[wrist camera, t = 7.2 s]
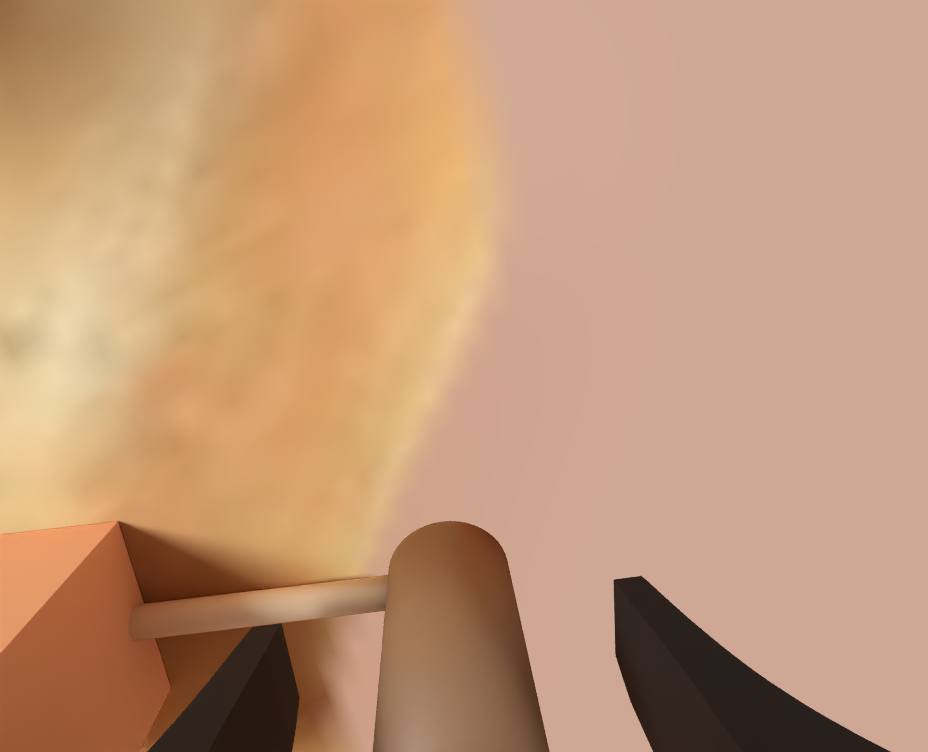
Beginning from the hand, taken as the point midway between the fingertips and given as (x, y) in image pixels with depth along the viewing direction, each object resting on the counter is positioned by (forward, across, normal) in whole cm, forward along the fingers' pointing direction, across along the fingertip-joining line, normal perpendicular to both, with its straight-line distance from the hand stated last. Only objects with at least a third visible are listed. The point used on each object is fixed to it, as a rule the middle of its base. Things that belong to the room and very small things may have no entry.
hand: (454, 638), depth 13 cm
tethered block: (+2, +5, 0) cm, 6 cm away
